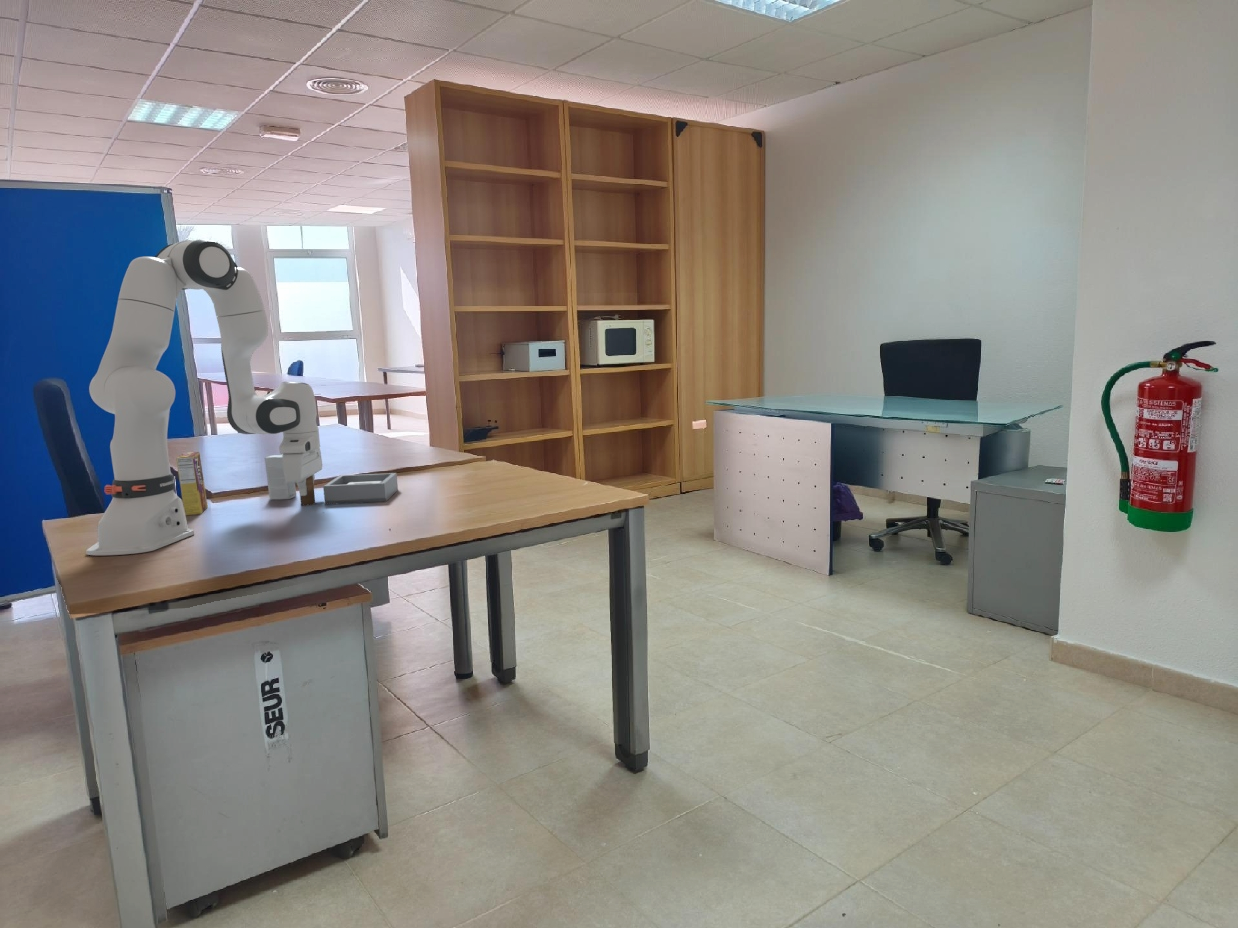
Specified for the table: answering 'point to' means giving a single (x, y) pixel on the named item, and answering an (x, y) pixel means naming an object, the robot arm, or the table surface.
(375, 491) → the tray
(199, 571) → the table surface
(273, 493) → the skincare box
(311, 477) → the peg
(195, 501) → the candy box
